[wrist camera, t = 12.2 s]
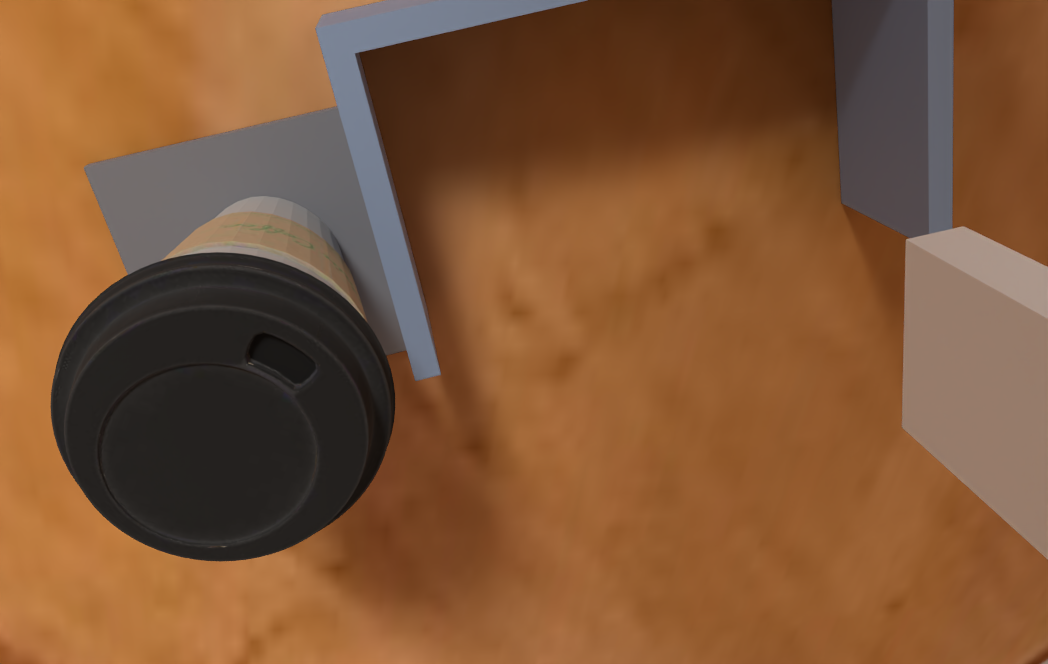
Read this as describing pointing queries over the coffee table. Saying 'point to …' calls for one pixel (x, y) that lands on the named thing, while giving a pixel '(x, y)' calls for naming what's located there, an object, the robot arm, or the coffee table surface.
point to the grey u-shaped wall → (862, 112)
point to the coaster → (239, 173)
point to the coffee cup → (227, 389)
